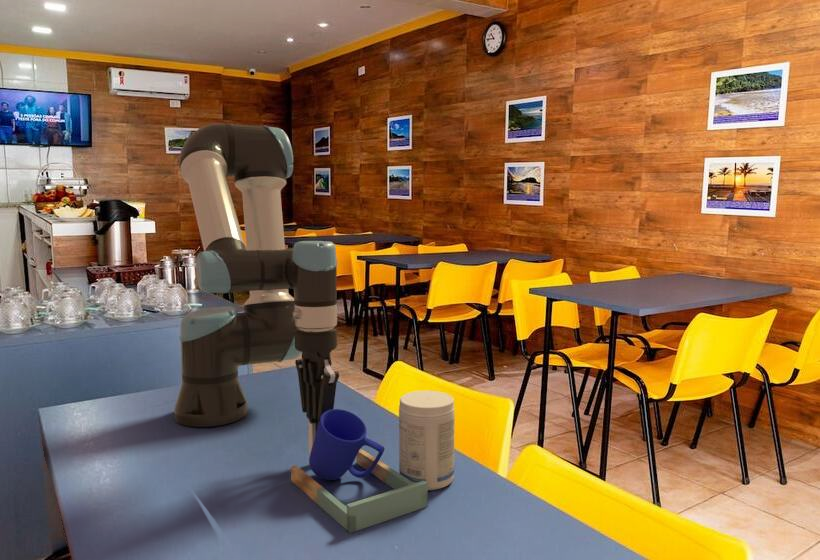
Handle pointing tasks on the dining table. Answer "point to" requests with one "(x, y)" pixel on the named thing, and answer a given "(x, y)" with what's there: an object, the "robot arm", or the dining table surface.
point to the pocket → (377, 503)
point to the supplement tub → (427, 438)
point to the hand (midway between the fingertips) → (317, 453)
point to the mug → (340, 445)
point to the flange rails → (311, 487)
